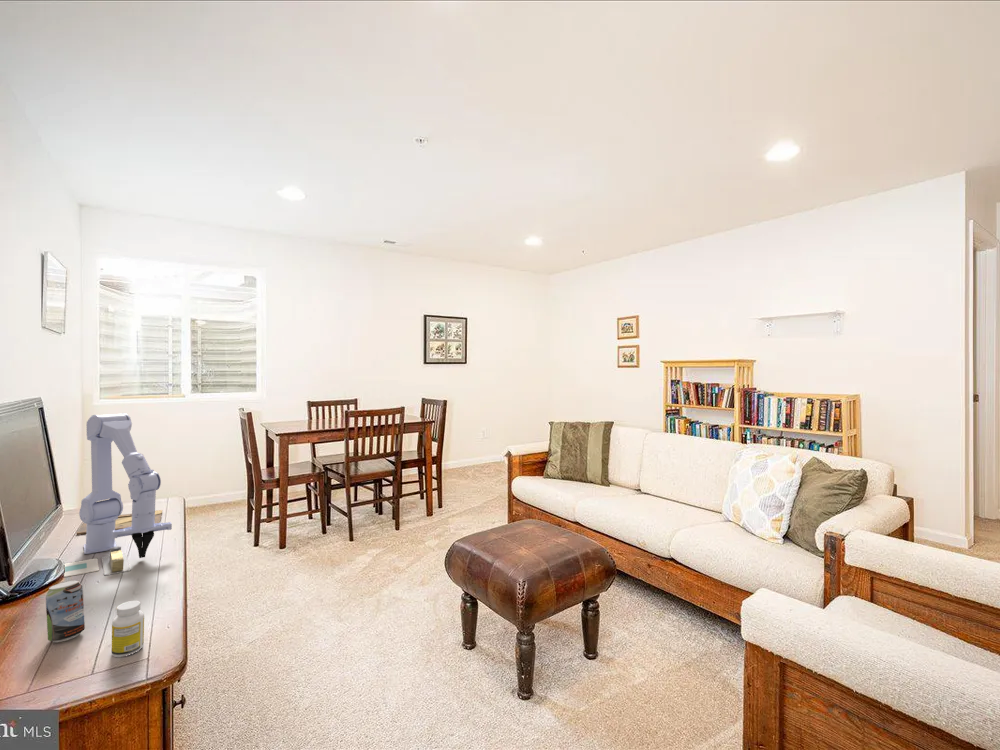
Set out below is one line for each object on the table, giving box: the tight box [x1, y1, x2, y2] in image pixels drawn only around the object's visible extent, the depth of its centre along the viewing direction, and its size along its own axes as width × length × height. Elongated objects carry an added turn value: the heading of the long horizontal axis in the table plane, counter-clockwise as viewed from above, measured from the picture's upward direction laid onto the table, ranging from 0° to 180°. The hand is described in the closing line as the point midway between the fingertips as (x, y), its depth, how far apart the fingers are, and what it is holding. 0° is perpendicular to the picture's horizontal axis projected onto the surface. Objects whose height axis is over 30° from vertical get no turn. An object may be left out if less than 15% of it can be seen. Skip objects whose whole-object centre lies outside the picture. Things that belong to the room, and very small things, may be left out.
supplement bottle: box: [111, 600, 145, 658], centre depth 101 cm, size 5×5×10 cm
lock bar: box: [110, 549, 124, 572], centre depth 141 cm, size 9×2×3 cm, turn 42°
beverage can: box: [45, 579, 86, 643], centre depth 105 cm, size 6×7×12 cm
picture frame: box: [76, 509, 163, 536], centre depth 180 cm, size 19×2×24 cm
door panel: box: [63, 546, 132, 578], centre depth 141 cm, size 16×14×4 cm
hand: (141, 556), depth 147 cm, fingers closed
